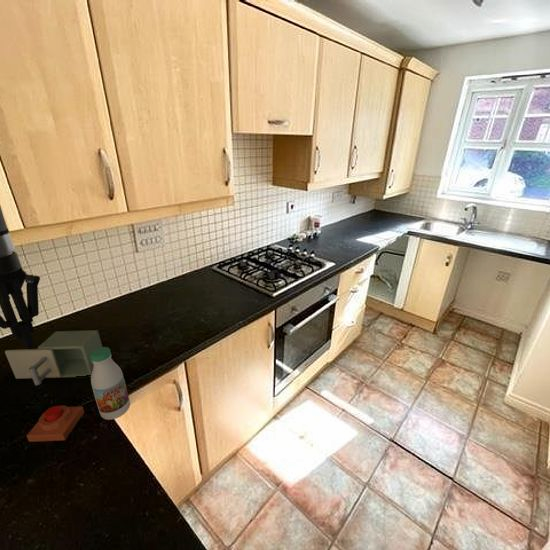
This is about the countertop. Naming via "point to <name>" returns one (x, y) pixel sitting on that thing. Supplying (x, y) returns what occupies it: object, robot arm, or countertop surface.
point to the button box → (56, 425)
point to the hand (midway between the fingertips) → (29, 346)
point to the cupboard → (73, 351)
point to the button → (53, 413)
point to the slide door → (33, 364)
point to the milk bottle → (108, 385)
